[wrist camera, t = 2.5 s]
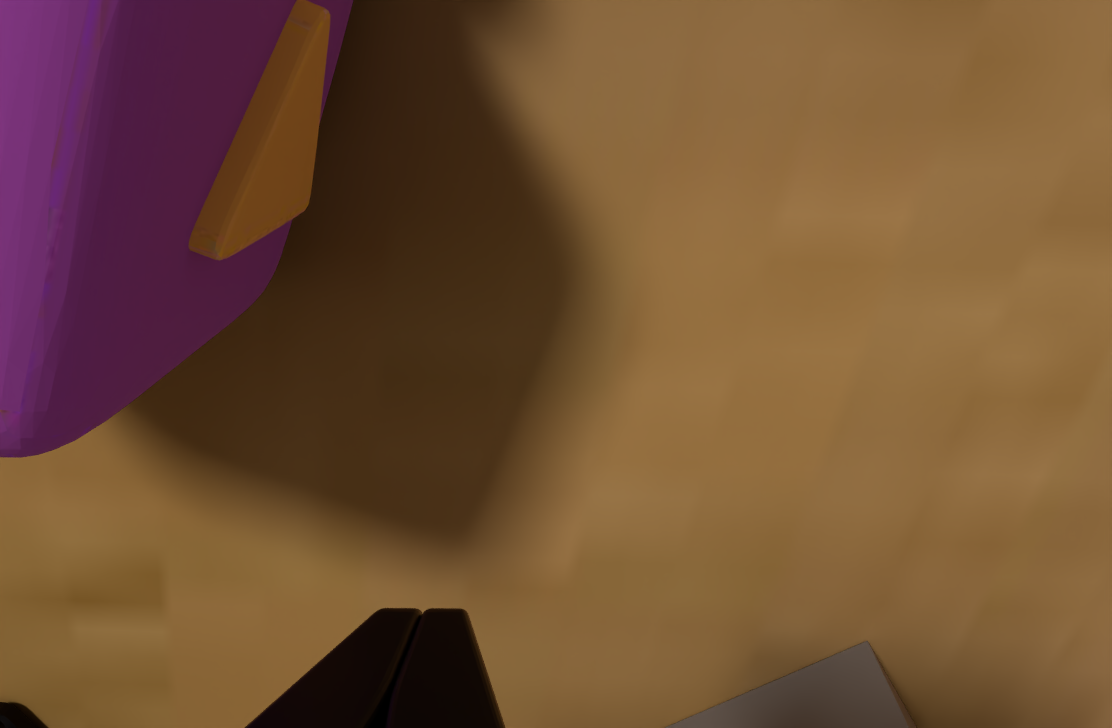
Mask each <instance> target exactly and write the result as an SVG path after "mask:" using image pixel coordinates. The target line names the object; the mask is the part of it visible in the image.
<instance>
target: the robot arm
mask: <svg viewBox="0 0 1112 728" xmlns="http://www.w3.org/2000/svg"><path fill="white" fill-rule="evenodd" d="M0 728H37V727H36V726H35V725H34V724H33V723H32V722H31V721H30V720H29V719H28V718H27V717H26V716H25V715H24V714H22V713H21V712H20V711H19V710H18V709H17V708H16V707H14V706H13V705H11V704H8V703H4V702H0ZM245 728H505V725H504V722H503V719H502V716H501V713H500V710H499V707H498V704H497V701H496V698H495V695H494V692H493V688H492V685H491V682H490V679H489V676H488V673H487V670H486V667H485V664H484V661H483V658H482V655H481V652H480V649H479V646H478V643H477V640H476V637H475V633H474V630H473V627H472V624H471V621H470V618H469V615H468V613H467V612H466V611H465V610H464V609H452V608H431V609H428V610H426V611H424V613H423V614H422V612H421V611H420V610H419V609H416V608H383V609H380V610H378V611H376V612H375V613H374V614H372V615H371V616H370V617H369V618H368V619H367V620H366V621H365V622H363V623H362V624H361V625H360V626H359V627H358V628H357V629H355V630H354V631H353V632H352V633H351V634H350V635H349V636H348V637H346V638H345V639H344V640H343V641H342V642H341V643H340V644H339V645H337V646H336V647H335V648H334V649H333V650H332V651H331V652H330V653H328V654H327V655H326V656H325V657H324V658H323V659H322V660H320V661H319V662H318V663H317V664H316V665H315V666H314V667H313V668H311V669H310V670H309V671H308V672H307V673H306V674H305V675H304V676H302V677H301V678H300V679H299V680H298V681H297V682H296V683H295V684H293V685H292V686H291V687H290V688H289V689H288V690H287V691H285V692H284V693H283V694H282V695H281V696H280V697H279V698H278V699H276V700H275V701H274V702H273V703H272V704H271V705H270V706H269V707H267V708H266V709H265V710H264V711H263V712H262V713H261V714H259V715H258V716H257V717H256V718H255V719H254V720H253V721H252V722H250V723H249V724H248V725H247V726H246V727H245Z"/></svg>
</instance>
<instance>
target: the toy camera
mask: <svg viewBox="0 0 1112 728" xmlns="http://www.w3.org/2000/svg"><path fill="white" fill-rule="evenodd" d="M352 4H353V0H0V457H27V456H33V455H39V454H42V453H45V452H48V451H51V450H54V449H57V448H59V447H61V446H63V445H66V444H68V443H70V442H72V441H75V440H76V439H78V438H80V437H81V436H83V435H84V434H86V433H88V432H89V431H91V430H92V429H94V428H96V427H97V426H99V425H100V424H102V423H103V422H105V421H106V420H108V419H109V418H110V417H112V416H113V415H115V414H116V413H117V412H119V411H120V410H121V409H123V408H124V407H125V406H127V405H128V404H129V403H131V402H132V401H133V400H135V399H136V398H137V397H138V396H140V395H141V394H142V393H143V392H145V391H146V390H147V389H148V388H150V387H151V386H152V385H154V384H155V383H156V382H157V381H159V380H160V379H161V378H162V377H164V376H165V375H166V374H167V373H169V372H170V371H171V370H172V369H174V368H175V367H176V366H177V365H179V364H180V363H181V362H182V361H184V360H185V359H186V358H187V357H189V356H190V355H191V354H193V353H194V352H195V351H196V350H198V349H199V348H200V347H201V346H203V345H204V344H205V343H206V342H208V341H209V340H210V339H211V338H213V337H214V336H215V335H216V334H218V333H219V332H220V331H221V330H223V329H224V328H225V327H227V326H228V325H229V324H230V323H231V322H233V321H234V320H235V319H236V318H237V317H239V316H240V315H241V314H242V313H243V312H244V311H246V310H247V309H248V308H249V307H250V306H251V305H252V304H253V303H254V302H255V301H256V300H257V298H258V297H259V296H260V295H261V294H262V292H263V291H264V290H265V289H266V287H267V285H268V284H269V282H270V280H271V278H272V276H273V274H274V272H275V270H276V268H277V265H278V263H279V260H280V258H281V255H282V252H283V248H284V245H285V242H286V239H287V236H288V233H289V230H290V227H291V223H292V220H293V218H295V217H297V216H298V215H299V214H301V213H302V212H304V211H305V210H306V208H307V206H308V204H309V200H310V196H311V189H312V181H313V173H314V165H315V157H316V149H317V140H318V131H319V124H320V121H321V117H322V113H323V110H324V106H325V103H326V99H327V96H328V92H329V89H330V85H331V82H332V78H333V75H334V71H335V67H336V64H337V60H338V57H339V53H340V49H341V45H342V42H343V38H344V34H345V30H346V27H347V23H348V19H349V15H350V11H351V8H352Z"/></svg>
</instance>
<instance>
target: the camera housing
mask: <svg viewBox="0 0 1112 728" xmlns="http://www.w3.org/2000/svg"><path fill="white" fill-rule="evenodd" d="M666 728H917V727H916V725H915V724H914V722H913V720H912V718H911V717H910V715H909V713H908V711H907V710H906V708H905V706H904V704H903V703H902V701H901V699H900V697H899V695H898V694H897V692H896V690H895V688H894V687H893V685H892V683H891V681H890V680H889V678H888V676H887V674H886V673H885V671H884V669H883V667H882V666H881V664H880V662H879V660H878V658H877V657H876V655H875V653H874V651H873V650H872V648H871V646H870V644H869V643H868V641H866V642H863V643H861V644H859V645H856V646H854V647H852V648H849V649H847V650H845V651H842V652H840V653H838V654H835V655H833V656H831V657H828V658H826V659H824V660H822V661H819V662H817V663H815V664H812V665H810V666H808V667H805V668H803V669H801V670H798V671H796V672H794V673H791V674H789V675H787V676H784V677H782V678H780V679H777V680H775V681H773V682H770V683H768V684H766V685H763V686H761V687H759V688H756V689H754V690H752V691H749V692H747V693H745V694H742V695H740V696H738V697H735V698H733V699H731V700H728V701H726V702H724V703H721V704H719V705H717V706H714V707H712V708H710V709H707V710H705V711H703V712H700V713H698V714H696V715H693V716H691V717H689V718H687V719H684V720H682V721H680V722H677V723H675V724H673V725H670V726H668V727H666Z"/></svg>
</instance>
